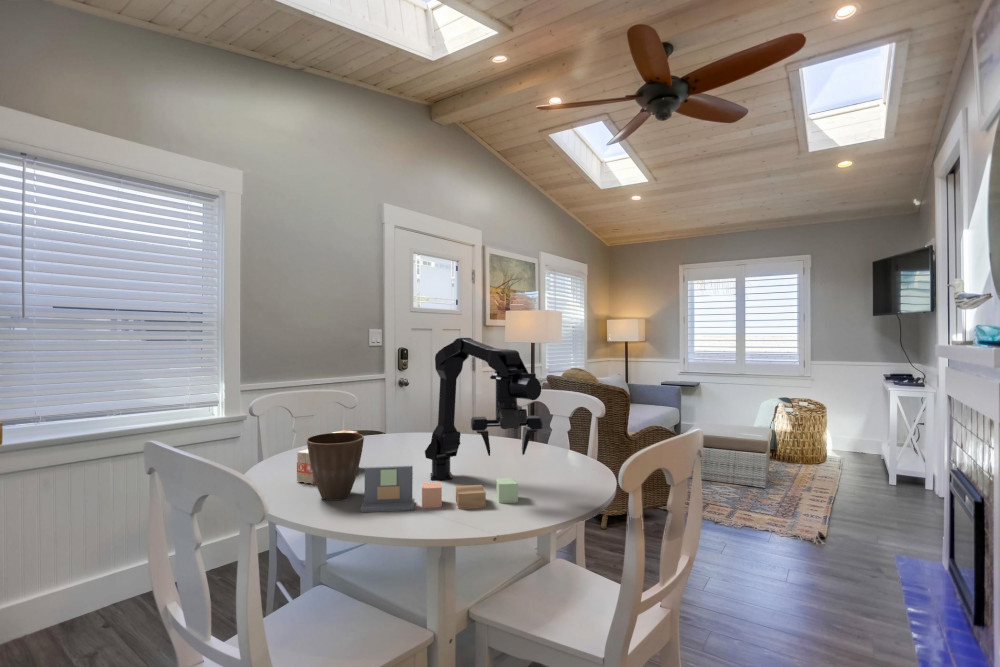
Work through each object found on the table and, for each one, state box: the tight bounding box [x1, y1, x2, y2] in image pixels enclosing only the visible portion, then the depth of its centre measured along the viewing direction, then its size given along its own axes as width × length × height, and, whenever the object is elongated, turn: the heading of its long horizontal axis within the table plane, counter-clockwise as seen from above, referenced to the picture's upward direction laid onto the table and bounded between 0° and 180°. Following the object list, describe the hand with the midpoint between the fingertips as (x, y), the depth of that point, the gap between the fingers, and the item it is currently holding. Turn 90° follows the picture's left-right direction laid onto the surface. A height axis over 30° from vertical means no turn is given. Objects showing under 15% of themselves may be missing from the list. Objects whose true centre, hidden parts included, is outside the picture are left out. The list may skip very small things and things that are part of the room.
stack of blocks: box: [296, 430, 359, 485], centre depth 160 cm, size 21×6×12 cm, turn 159°
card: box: [360, 465, 416, 513], centre depth 130 cm, size 6×13×10 cm, turn 98°
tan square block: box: [455, 484, 487, 510], centre depth 133 cm, size 7×7×4 cm
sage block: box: [496, 477, 519, 504], centre depth 136 cm, size 5×5×5 cm
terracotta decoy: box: [421, 481, 443, 509], centre depth 132 cm, size 5×5×5 cm
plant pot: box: [306, 432, 365, 501], centre depth 139 cm, size 15×15×16 cm
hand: (506, 455), depth 136 cm, fingers open, 9 cm apart
